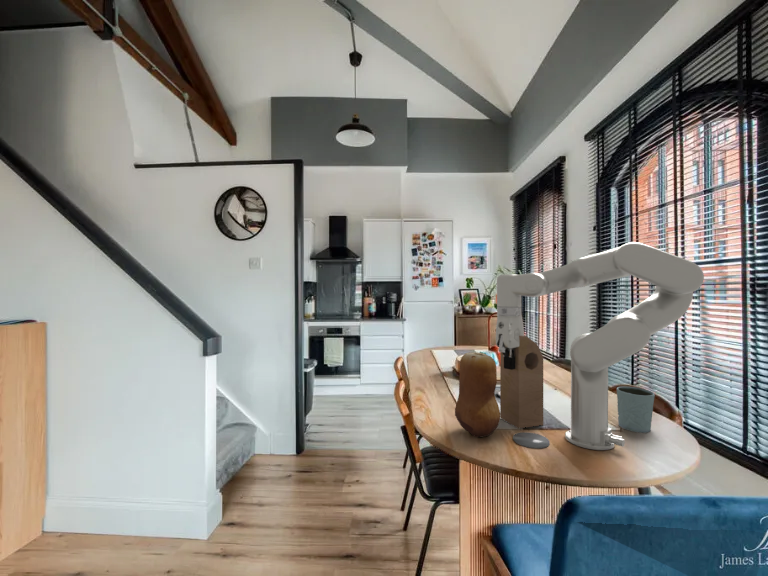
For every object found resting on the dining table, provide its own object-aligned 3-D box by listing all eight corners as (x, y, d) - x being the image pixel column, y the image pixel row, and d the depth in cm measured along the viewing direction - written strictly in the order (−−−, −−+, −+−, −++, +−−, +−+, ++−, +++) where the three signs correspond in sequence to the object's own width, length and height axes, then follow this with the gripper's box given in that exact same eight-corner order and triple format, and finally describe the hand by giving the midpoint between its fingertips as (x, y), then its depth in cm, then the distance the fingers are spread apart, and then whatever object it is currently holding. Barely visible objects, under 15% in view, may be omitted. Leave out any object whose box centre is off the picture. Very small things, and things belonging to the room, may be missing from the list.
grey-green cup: (616, 419, 124) (616, 384, 124) (652, 425, 119) (652, 389, 119) (617, 429, 115) (617, 392, 115) (656, 436, 110) (656, 397, 110)
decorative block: (500, 418, 125) (499, 331, 125) (523, 415, 128) (523, 330, 128) (518, 428, 116) (518, 335, 116) (543, 425, 119) (543, 334, 119)
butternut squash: (508, 434, 112) (508, 353, 112) (485, 447, 102) (485, 359, 103) (470, 422, 122) (470, 348, 122) (445, 433, 113) (445, 352, 113)
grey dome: (555, 442, 106) (555, 439, 106) (538, 451, 100) (538, 449, 100) (524, 431, 114) (524, 429, 114) (506, 439, 108) (506, 437, 108)
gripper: (507, 313, 110) (507, 374, 110) (531, 311, 119) (532, 367, 119) (485, 312, 116) (486, 370, 116) (511, 310, 125) (511, 363, 125)
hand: (509, 368), depth 117 cm, fingers closed
